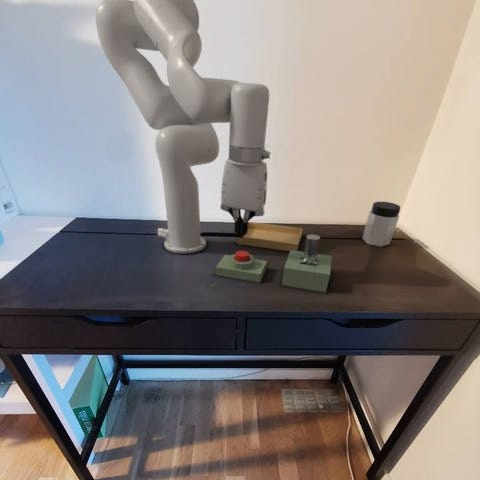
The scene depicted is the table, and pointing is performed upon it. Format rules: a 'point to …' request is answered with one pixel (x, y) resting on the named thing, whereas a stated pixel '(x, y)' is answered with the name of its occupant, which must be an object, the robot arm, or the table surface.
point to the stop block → (241, 268)
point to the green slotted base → (307, 272)
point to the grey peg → (311, 250)
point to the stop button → (242, 256)
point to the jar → (381, 223)
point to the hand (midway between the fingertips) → (240, 235)
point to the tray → (271, 236)
